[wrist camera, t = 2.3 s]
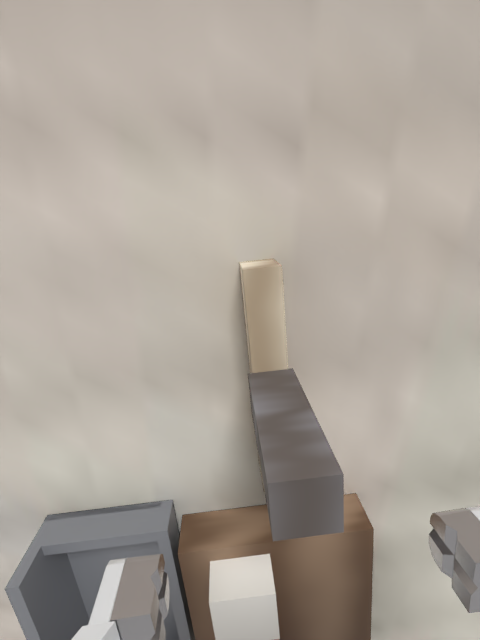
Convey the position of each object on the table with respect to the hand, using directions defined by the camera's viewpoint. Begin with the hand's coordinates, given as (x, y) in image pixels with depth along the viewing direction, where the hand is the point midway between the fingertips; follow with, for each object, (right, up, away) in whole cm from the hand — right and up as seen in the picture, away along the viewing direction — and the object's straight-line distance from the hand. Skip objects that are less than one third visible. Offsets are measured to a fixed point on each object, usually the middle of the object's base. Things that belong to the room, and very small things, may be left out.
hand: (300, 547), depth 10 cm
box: (-10, -14, +16) cm, 24 cm away
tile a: (-2, -11, +13) cm, 17 cm away
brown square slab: (+1, -13, +17) cm, 21 cm away
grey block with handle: (0, +4, +12) cm, 12 cm away
